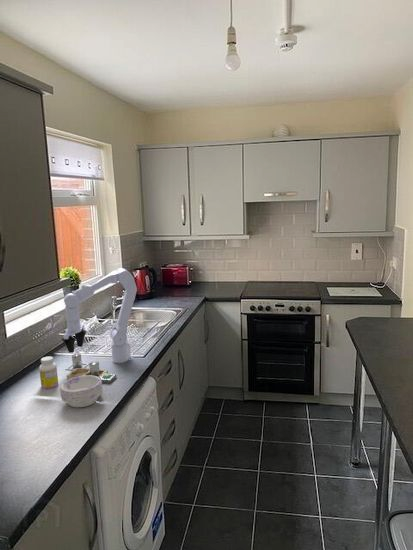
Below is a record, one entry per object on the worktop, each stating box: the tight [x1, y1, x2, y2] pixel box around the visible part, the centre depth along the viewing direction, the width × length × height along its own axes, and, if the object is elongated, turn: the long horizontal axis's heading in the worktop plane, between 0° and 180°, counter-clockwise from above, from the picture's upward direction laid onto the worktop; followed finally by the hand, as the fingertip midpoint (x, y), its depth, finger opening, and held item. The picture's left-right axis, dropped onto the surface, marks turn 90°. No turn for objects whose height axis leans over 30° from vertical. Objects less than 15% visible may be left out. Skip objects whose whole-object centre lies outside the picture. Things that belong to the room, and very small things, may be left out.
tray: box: [65, 362, 90, 371], centre depth 196 cm, size 8×8×1 cm
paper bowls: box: [59, 375, 103, 408], centre depth 163 cm, size 15×15×8 cm
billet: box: [71, 353, 83, 369], centre depth 195 cm, size 4×4×6 cm
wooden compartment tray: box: [66, 367, 109, 380], centre depth 185 cm, size 8×15×2 cm, turn 76°
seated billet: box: [88, 361, 101, 377], centre depth 184 cm, size 4×4×6 cm
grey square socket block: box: [100, 373, 117, 384], centre depth 180 cm, size 6×6×2 cm
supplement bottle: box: [39, 356, 59, 390], centre depth 176 cm, size 7×7×13 cm
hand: (75, 349), depth 194 cm, fingers open, 7 cm apart
